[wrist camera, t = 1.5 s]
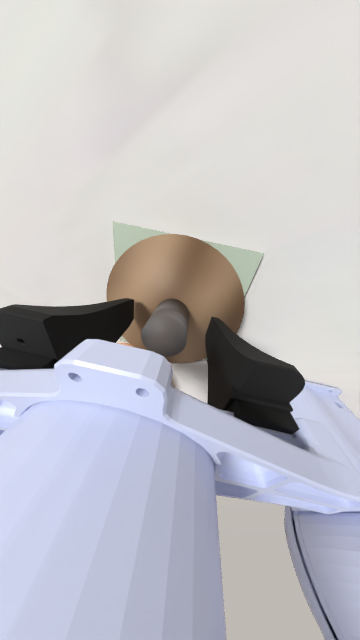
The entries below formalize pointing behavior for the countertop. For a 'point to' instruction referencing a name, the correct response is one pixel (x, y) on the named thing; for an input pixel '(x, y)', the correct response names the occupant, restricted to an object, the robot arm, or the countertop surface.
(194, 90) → the countertop surface
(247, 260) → the mat
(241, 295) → the lid
